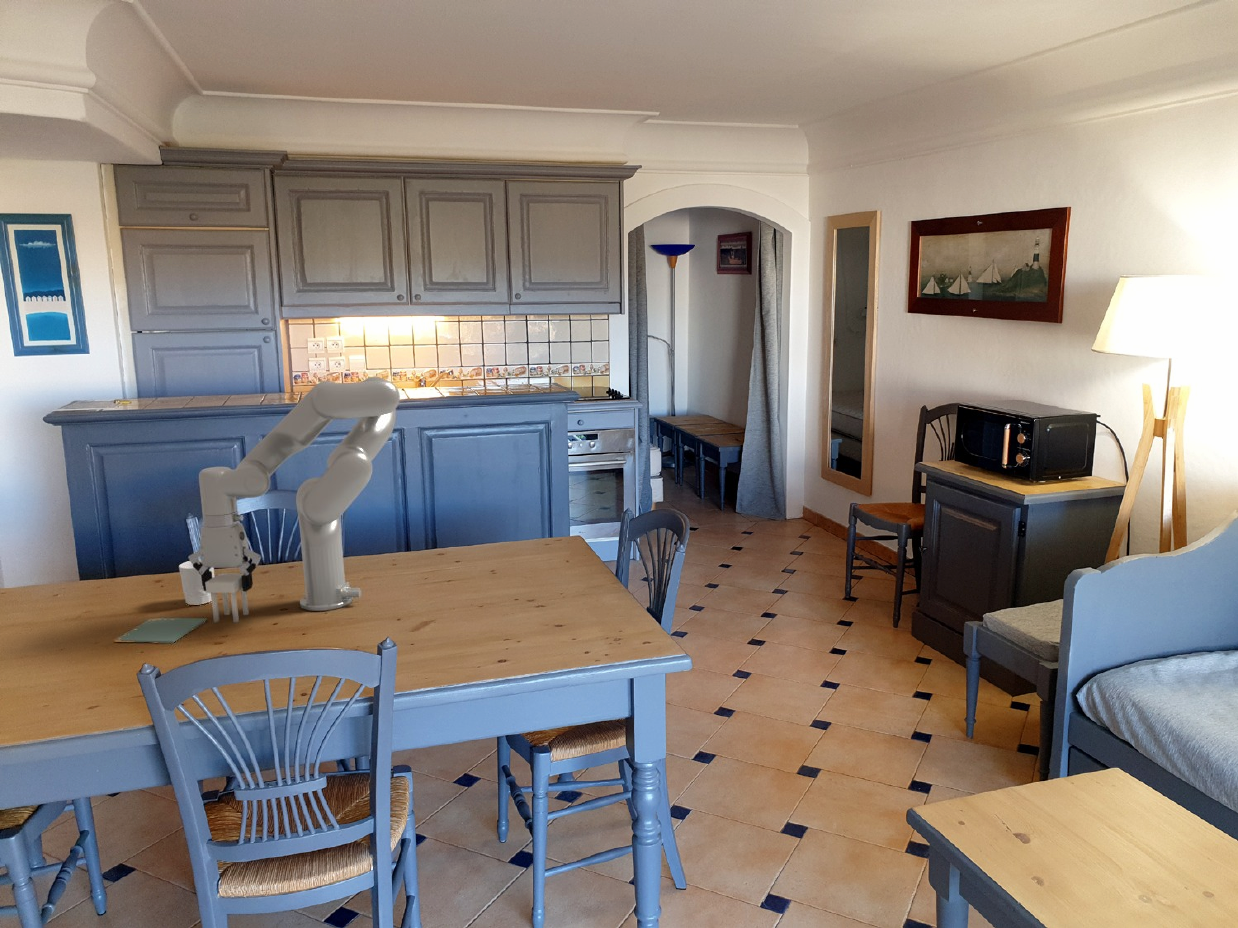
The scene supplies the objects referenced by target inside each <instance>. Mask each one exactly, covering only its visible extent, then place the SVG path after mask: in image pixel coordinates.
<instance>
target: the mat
mask: <svg viewBox="0 0 1238 928" xmlns="http://www.w3.org/2000/svg"><path fill="white" fill-rule="evenodd" d="M156 618H157V619H161V620H155V621H152V620H151V621H148V619H147V620H145V621H144V622H142V623H141V624H142V625H140V624H139V626H138V625H137V626H135V627H133V628H132V629H137V630H132V629H131V630H132V631H130V630H128V631H127V632H125V633H124V634H126V635H125V636H122V635H119V637H118V638H121V639H120V640H121V641H134V642H160V643H159V644H175V643H176V642H178V641H179V640H180V639H179V638H181V637H182V638H184V637H185V636H186V635H185V634H187V635H189V632H190V631H191V630H192V629H194V630H195V629H197V628H199V627H200V626H201V625H203V624H205V622H204V621H206V620H207V621H208V619H207V618H191V617H190V618H184V617H182V618H180V617H179V618H178V617H150V618H149V619H156ZM164 619H166V620H164ZM171 619H174V620H171ZM207 621H206V622H207ZM202 623H203V624H202ZM200 624H201V625H200ZM199 625H200V626H199ZM196 627H197V628H196ZM191 632H192V631H191ZM191 632H190V633H191ZM128 634H129V635H128ZM184 635H185V636H184ZM183 636H184V637H183ZM182 638H181V639H182ZM178 639H179V640H178ZM116 640H119V639H117V638H116ZM177 640H178V641H177ZM175 641H176V642H175ZM174 642H175V643H174Z"/></svg>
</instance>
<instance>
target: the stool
mask: <svg viewBox="0 0 1238 928" xmlns="http://www.w3.org/2000/svg"><path fill="white" fill-rule="evenodd" d="M242 575H244V574H243V573H242V572H241V573H238V572H237V573H235V572H234V573H233V572H230V573H229V572H224V573H222V572H221V573H219V574H217V575H216V576H215V575H214V578H212V579H210V580H209V581H207V582H205V584H206V593H211V600H212V602H211V607H212V615H213V622H214V623H219V622H220V614H219V605H218V595H217V594H218V593H219V594H222V595H221V596H222V604H223V606H222V607H223V613H224V616H229V615H231V614H230V613H232V621H233V623H239V622H240V617H239V611H238V602H237V601H238V600H237V592H238V591H240V595H241V605H242V615H243V616H249V612H250V611H249V603H248V594H247V592H248V591H246V592H244V591H243V588H242V578H241V577H242ZM229 594H230V601H231V611H232V612H230V605H229ZM218 621H219V622H218Z"/></svg>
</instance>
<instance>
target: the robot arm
mask: <svg viewBox="0 0 1238 928" xmlns="http://www.w3.org/2000/svg"><path fill="white" fill-rule="evenodd" d="M400 397H401V396H400V392H399V389H398V387H397V386H396V385H395V384H394V383H393V382H391V381H390V380H387V379H385V378H383V377H381V376H370V377H367V378H365V379H363V381H359V382H357V381H356V382H346V383H345V382H344V383H342V382H341V383H339V382H338V383H337V382H334V381H332V380H331V381H330V380H323V381H320V382H318V383H316V384H315V385H314V386H312V388H311V389H310V390H309V391H308V392H307V393H306V394H305V395H304V396H303V397H302V399H300V401H299V402H297V404H296V405H295V406H294V407H293V408H292V409H291V410H290V411H289V413H287V415H286V416H285V417H283V419H282V420H281V421H280V422H278V424H277V425H276V426H275V427H273V428H272V429H271V430H270V432H269V433H268V434H267V435H266V436H264V437H263V438H262V439H261V440H260V441H259V442H258V443H257V444H256V445H255V446H254V447H253V448H252V450H250V452H248V454H247V455H246V456H245V457H244V458H243V459H242V460H241V461H240V462H239V464H238V465H237V466H236V468H235V469H232V468H230V467H228V466H214V467H213V466H212V467H207V468H206V467H205V468H204V469H201V470H200V471H199V474H198V483H199V484H198V485H199V493H200V502H201V509H202V519H203V521H202V522H203V525H202V526H201V529H200V539H199V548H200V549H199V550H197V551H196V552H194V553H192V554H190V555H188V558H187V559H189V561H191V563H192V564H193V567H194V568H195V569H196V570H197V571H198V573H199V574H200V575H201V579H202V586H203V589H204V591H206V584H205V582H207V581H209V580H210V579H212V572H211V571H209V570H210V568H214V569H216V568H217V569H218V568H220V569H221V568H222V569H224V568H225V569H226V568H227V569H228V568H229V569H234V568H237V570H238V569H239V571H240V572H241V573H243V574H244V575H242V577H241V578H242V588H243V591H244V592H248V591H249V590H251V589H252V587H253V584H254V582H253V572H254V570H255V569H256V568H257V567H258V566H259V563H260V561H261V559H262V556H261V555H260V553H257V552H255V551H252V550H251V549H250V548H249V542H248V541H249V540H248V538H247V534H246V533H247V532H246V531H245V527H244V525H243V523H242V522H240V521H243V520H244V515H242V514H239V511H238V502H237V498H243V499H244V498H245V499H254V498H255V499H256V498H259V497H262V496H264V495H265V494H266V493H267V492H268V491H269V489H270V486H271V479H270V477H271V476H272V475H273V474H274V473H275V472H276V471H277V469H279V467H281V465H282V464H284V463H285V461H286V460H288V459H289V458H290V457H292V456H293V455H295V454H297V453H300V452H302V451H304V450H306V448H308V447H309V446H310V445H311V444H312V443H313V442H314V441H315V439H317V437H319V435H320V434H321V433H322V432H323V431H324V430H325V428H326V427H328V426H329V424H331V422H333V420H334V421H335V420H347V419H348V420H351V419H358V420H357V422H356V423H355V425H353V427H352V429H351V430H350V431H349V432H348V433H347V434H346V436H344V438H343V439H342V440H341V441H340V443H339V444H338V445H337V446H336V447H335V448H334V449H333V450H332V451H331V452H330V454H329V456H328V458H327V461H326V467H327V469H326V470H325V471H324V473H323V474H322V475H321V476H320V477H312V478H308V479H307V480H305V481H303V483H302V484H301V485H300V486H299V487H298V490H297V492H296V496H295V497H296V498H295V499H296V500H295V503H296V504H295V505H296V510H297V511H296V512H297V518H298V524H299V525H298V526H299V533H300V543H301V545H300V546H301V554H302V555H301V558H302V568H303V569H302V570H303V579H304V580H303V581H304V589H305V595H304V597H302V598H301V599H300V600H299V606H300V608H301V609H304V610H306V611H312V612H314V611H315V612H319V611H320V612H322V611H323V612H324V611H331V610H335V609H336V610H337V609H340V608H342V607H343V608H344V607H345V606H347V605H349V604H351V603H352V602H353V599H354V598H355V599H360V598H361V597H362V590H361V588H360V587H351V586H350V582H349V581H346V576H345V567H344V566H345V565H344V564H345V563H344V554H343V543H342V542H343V537H342V526H341V520H340V517H341V516H342V515H343V514H344V513H345V512H346V510H347V509H348V508H349V507H350V506H351V505H352V504H353V502H354V501H355V499H357V498H358V496H359V495H360V494H361V492H363V490H364V489H365V488H366V486H367V485H368V483H369V481H370V480H371V477H372V474H373V468H374V467H373V463H372V461H373V460H374V459H375V458H376V457H377V455H378V454H379V452H380V451H381V450H382V448H383V447H384V445H385V444H386V443H387V442H388V440H389V439H390V437H391V435H392V433H393V432H394V431H393V430H394V429H395V428H394V427H395V425H396V419H397V418H396V416H397V407H398V406H399V404H400V399H401V398H400ZM199 557H200V559H199ZM199 560H201V562H202V563H201V562H200V561H199ZM250 560H252V561H251V563H249V562H250Z"/></svg>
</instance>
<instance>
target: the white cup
mask: <svg viewBox="0 0 1238 928" xmlns="http://www.w3.org/2000/svg"><path fill="white" fill-rule="evenodd" d="M198 560H199V561H200V562H201V559H198ZM201 563H202V562H201ZM178 569H179V576H180V579H181V586H182V592H183V595H184V600H185V604H186V603H188V604H194V605H199V604H204V603H207V602H210V601H212V600H211V593H206V591H204V589H203V586H202V579H201V575H200V574H199V573H198V571H197V570H196V569H195V568H194V567H193V564H192V563H191V561H190V560H189V561H185V562H183V563H181V564H179V565H178ZM209 571H211V572H212V578H214V577H215V568H210V570H209Z"/></svg>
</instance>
